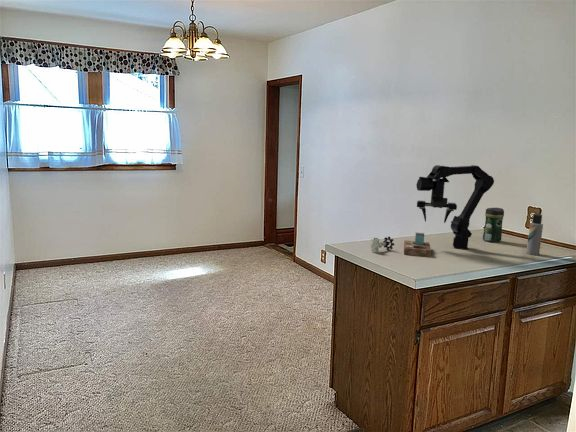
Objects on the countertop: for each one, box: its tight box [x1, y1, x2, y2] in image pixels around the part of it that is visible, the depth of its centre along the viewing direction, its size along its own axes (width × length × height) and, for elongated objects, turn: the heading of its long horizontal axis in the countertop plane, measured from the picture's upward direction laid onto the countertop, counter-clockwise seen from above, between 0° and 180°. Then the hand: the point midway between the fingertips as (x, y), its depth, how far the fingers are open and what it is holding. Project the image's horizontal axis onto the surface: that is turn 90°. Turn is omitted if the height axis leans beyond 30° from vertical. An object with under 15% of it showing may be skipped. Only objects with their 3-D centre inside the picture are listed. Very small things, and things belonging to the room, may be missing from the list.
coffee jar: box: [482, 207, 505, 243], centre depth 262 cm, size 10×8×19 cm
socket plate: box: [403, 239, 432, 258], centre depth 231 cm, size 12×18×3 cm, turn 166°
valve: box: [370, 236, 395, 254], centre depth 228 cm, size 7×7×12 cm
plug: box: [414, 232, 425, 245], centre depth 234 cm, size 4×4×8 cm
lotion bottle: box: [526, 213, 544, 256], centre depth 235 cm, size 6×6×20 cm
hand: (434, 222), depth 238 cm, fingers open, 9 cm apart
